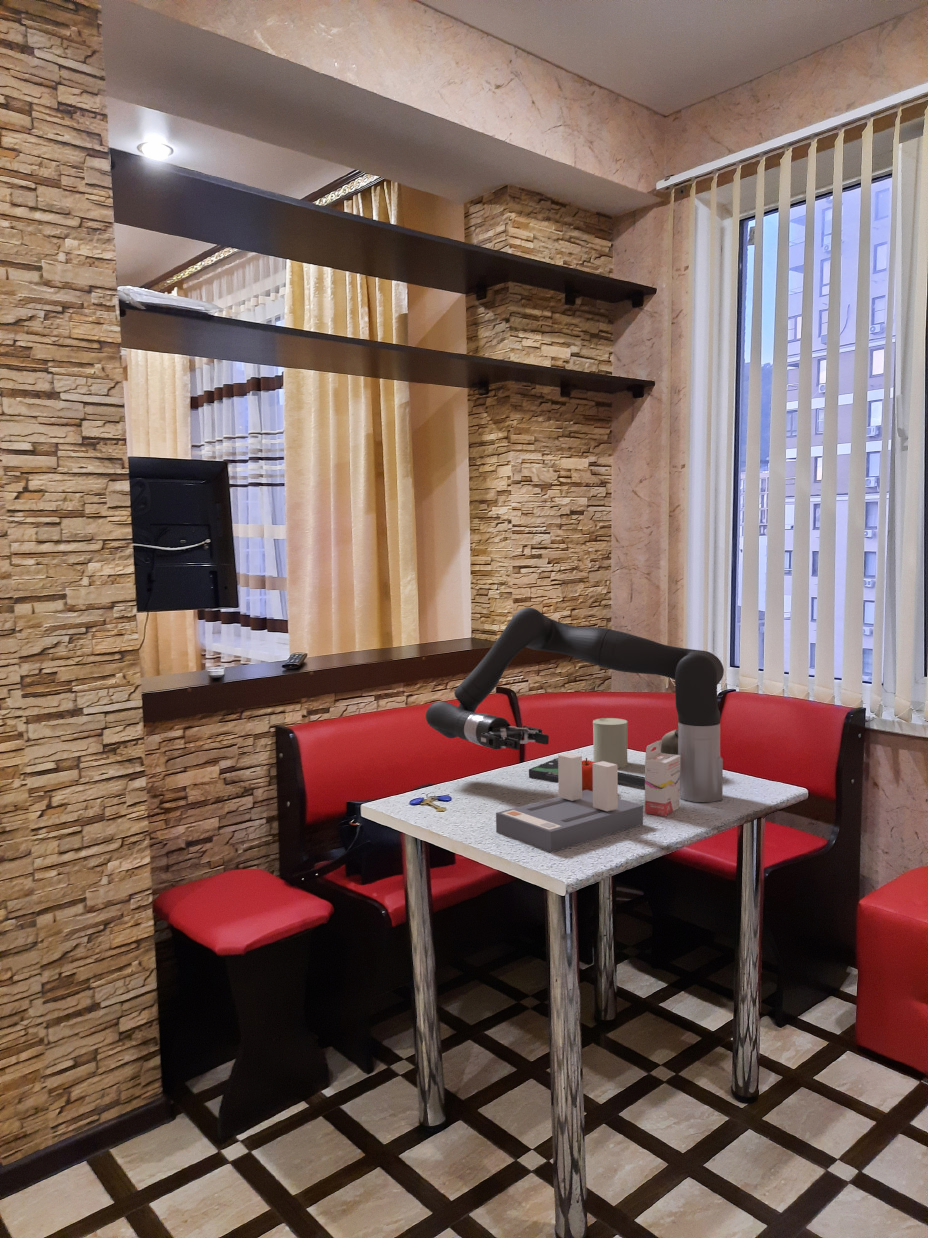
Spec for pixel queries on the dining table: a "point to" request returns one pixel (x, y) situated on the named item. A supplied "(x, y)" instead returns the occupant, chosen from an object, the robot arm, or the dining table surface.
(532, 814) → the block
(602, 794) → the switch tab
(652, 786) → the ink cartridge box
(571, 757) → the switch tab
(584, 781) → the apple
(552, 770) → the disk drive
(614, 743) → the can
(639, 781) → the phone
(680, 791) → the robot arm
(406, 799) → the dining table surface
